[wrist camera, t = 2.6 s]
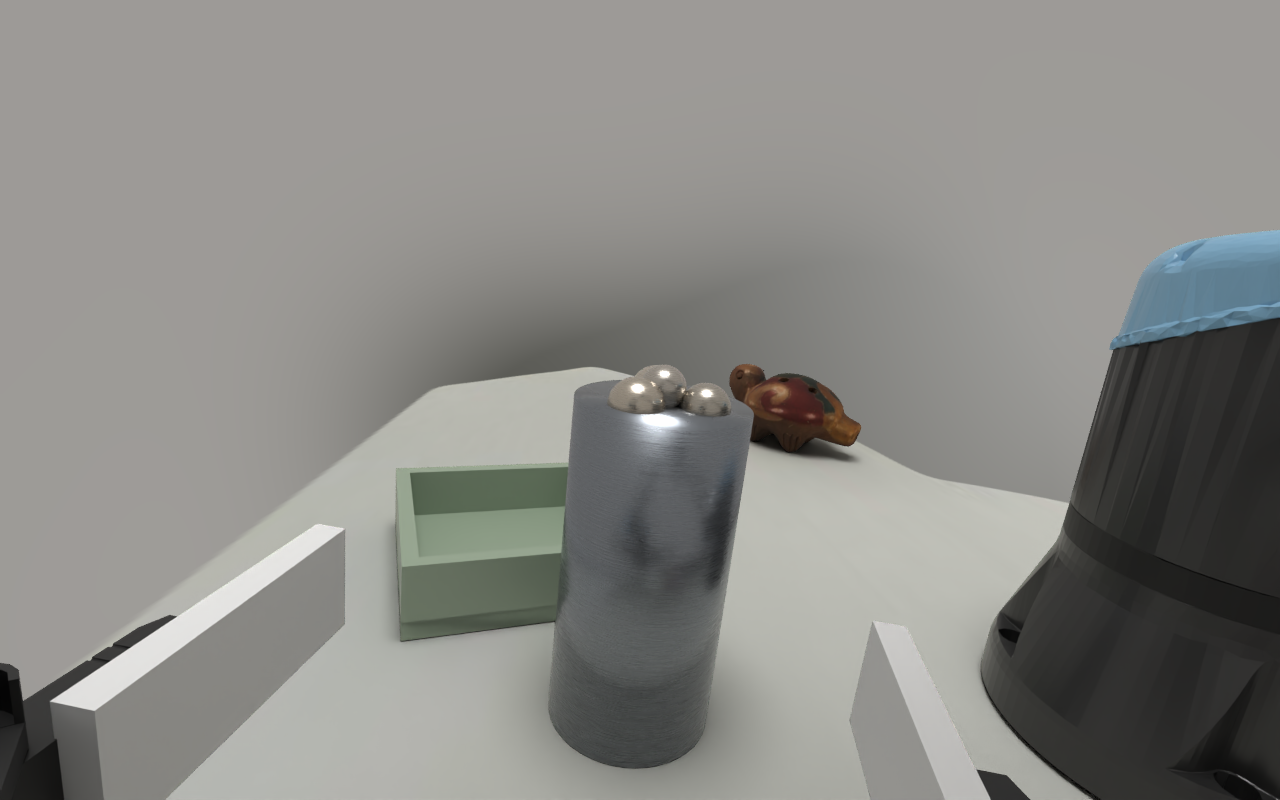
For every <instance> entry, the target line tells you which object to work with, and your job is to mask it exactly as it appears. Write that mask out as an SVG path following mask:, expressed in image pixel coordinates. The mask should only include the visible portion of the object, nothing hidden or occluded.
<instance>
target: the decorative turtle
mask: <svg viewBox="0 0 1280 800" xmlns="http://www.w3.org/2000/svg"><path fill="white" fill-rule="evenodd" d="M763 371H764V370H763ZM763 371H762V369H761V368H759V367H757V366H755V365H750V364H742V365H739V366H737V367H736V368H735V369H734V370H733V371H732V372H731V375H730V387H731V390H732V392H733V395H734V397H735V399H736V400H738V401H740V402H742V403H744V404H746V405H747V406H748V407H750V408H751V410H752V411H753V413H754V418H753V424H752V430H751V437H750V440H751V441H758V440H761V439H763V438H764V437H766V436H768V435H770V434H774V435H775V436H776V437H777V438H778V440H779V442H780V444H781V445H782V447H783V448H784V449H785V450H786V451H787V452H795V451H796V450H798V449H799V448H800V447H801V446H802V444H803V443H807V442H809V441H811V440H812V439H813V438H819V439H822V440H825V441H828V442H832V443H835V444H839V445H842V446H851V445H852V444H854V442H855V441H856V439H857V436H858V434H859V432H860V430H861V425H860V424H859V423H857V422H856V421H854V420H852V419H850V418H849V417H847V416H846V415H845V413H844V410H843V406H842V404H841V402H840V400H839V399H838V398H837V396H836V395H835V394H834V393H833V392H832V391H831V390H830V389H829V388H827V387H825V386H824V385H822V384H821V383H819V382H817V381H816V380H814V379H812V378H809V377H806V376H803V375H799V374H791V373H789V374H788V373H785V374H779V375H776V376H773V377H771V378H770V379H768V380H766V379H765V375H764V373H763Z"/></svg>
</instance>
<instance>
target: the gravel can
mask: <svg viewBox="0 0 1280 800" xmlns="http://www.w3.org/2000/svg"><path fill="white" fill-rule="evenodd" d="M753 418H754V413H753V411H752V410H751V408H750V407H748V406H747V405H746V404H744V403H742V402H740V401H738V400H736V399H734V398H731V397H729V396H728V395H727V394H726V392H725V391H724V390H722V389H721V388H720V387H718V386H717V385H714V384H710V383H700V384H696V385H694V386H687V385H686V381H685V379H684V376H683V375H682V373H681V372H680V371H679V370H677V369H676V368H674V367H672V366H669V365H653V366H648V367H646V368H644V369H642V370H640V371H639V372H638V373H637V374H636V375H635V377H629V378H626V379H624V380H613V381H602V382H596V383H591V384H587V385H584V386H582V387H580V388H578V389H577V390H576V391H575V394H574V405H573V417H572V429H571V441H570V453H569V465H568V477H567V489H566V501H565V512H564V524H563V536H562V548H561V560H560V572H559V584H558V596H557V608H556V620H555V632H554V644H553V656H552V668H551V680H550V692H549V713H550V717H551V720H552V723H553V725H554V727H555V729H556V730H557V732H558V733H559V735H560V736H561V737H562V738H563V739H564V740H565V741H566V742H567V743H568V744H569V745H570V746H571V747H572V748H574V749H575V750H577V751H578V752H580V753H581V754H583V755H585V756H587V757H589V758H591V759H593V760H596V761H598V762H601V763H604V764H608V765H612V766H617V767H624V768H648V767H653V766H659V765H662V764H665V763H669V762H671V761H673V760H675V759H678V758H679V757H681V756H683V755H684V754H686V753H687V752H688V751H689V750H690V749H692V748H693V747H694V745H695V744H696V743H697V742H698V740H699V739H700V737H701V735H702V733H703V730H704V728H705V722H706V716H707V709H708V703H709V697H710V690H711V684H712V678H713V671H714V665H715V659H716V652H717V646H718V640H719V633H720V627H721V621H722V614H723V608H724V602H725V595H726V589H727V583H728V576H729V570H730V564H731V557H732V551H733V544H734V538H735V532H736V525H737V519H738V513H739V506H740V500H741V494H742V487H743V481H744V475H745V468H746V462H747V456H748V449H749V443H750V437H751V430H752V424H753Z"/></svg>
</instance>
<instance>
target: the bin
mask: <svg viewBox="0 0 1280 800" xmlns="http://www.w3.org/2000/svg"><path fill="white" fill-rule="evenodd" d="M568 465H569V463H546V464H516V465H487V466H457V467H427V468H398V469H396V522H395V526H396V549H397V571H398V594H399V616H400V639H401V641H405V640H413V639H421V638H428V637H436V636H444V635H451V634H459V633H467V632H474V631H482V630H490V629H498V628H505V627H513V626H521V625H528V624H536V623H544V622H551V621H555V620H556V608H557V596H558V584H559V572H560V560H561V548H562V536H563V524H564V512H565V501H566V489H567V477H568Z"/></svg>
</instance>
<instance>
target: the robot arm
mask: <svg viewBox="0 0 1280 800" xmlns="http://www.w3.org/2000/svg"><path fill="white" fill-rule="evenodd" d="M1110 350H1113V354H1112V357H1111V361H1110V364H1109V367H1108V371H1107V375H1106V378H1105V381H1104V385H1103V388H1102V391H1101V395H1100V399H1099V402H1098V405H1097V409H1096V412H1095V416H1094V419H1093V423H1092V426H1091V430H1090V433H1089V436H1088V440H1087V443H1086V447H1085V450H1084V454H1083V457H1082V460H1081V464H1080V467H1079V471H1078V474H1077V478H1076V481H1075V485H1074V488H1073V491H1072V495H1071V500H1070V503H1069V507H1068V510H1067V513H1066V517H1065V520H1064V523H1063V526H1062V529H1061V532H1060V535H1059V537H1058V539H1057V541H1056V542H1055V544H1054V545H1053V546H1052V548H1051V549H1050V550H1049V551H1048V553H1047V554H1046V555H1045V556H1044V558H1043V559H1042V560H1041V561H1040V562H1039V564H1038V565H1037V566H1036V567H1035V569H1034V570H1033V571H1032V572H1031V574H1030V575H1029V576H1028V577H1027V579H1026V580H1025V581H1024V582H1023V584H1022V585H1021V586H1020V587H1019V588H1018V590H1017V591H1016V592H1015V593H1014V595H1013V596H1012V597H1011V598H1010V600H1009V601H1008V602H1007V603H1006V605H1005V606H1004V607H1003V608H1002V610H1001V611H1000V612H999V613H998V615H997V616H996V618H995V619H994V621H993V623H992V626H991V628H990V632H989V635H988V639H987V642H986V646H985V649H984V653H983V657H982V661H981V672H982V677H983V681H984V684H985V686H986V689H987V691H988V693H989V695H990V697H991V698H992V700H993V702H994V703H995V705H996V706H997V708H998V709H999V711H1000V712H1001V713H1002V715H1003V716H1004V717H1005V718H1006V720H1007V721H1008V722H1009V723H1010V724H1011V726H1012V727H1013V728H1014V729H1015V730H1016V731H1017V732H1018V733H1019V734H1020V735H1021V736H1022V737H1023V738H1024V739H1025V740H1026V741H1027V742H1028V743H1029V744H1030V745H1031V746H1032V747H1033V748H1034V749H1035V750H1036V751H1037V752H1038V753H1040V754H1041V755H1042V756H1043V757H1044V758H1045V759H1047V760H1048V761H1049V762H1050V763H1051V764H1053V765H1054V766H1055V767H1056V768H1058V769H1059V770H1060V771H1061V772H1063V773H1064V774H1065V775H1067V776H1068V777H1069V778H1071V779H1072V780H1074V781H1075V782H1076V783H1078V784H1079V785H1081V786H1082V787H1083V788H1085V789H1086V790H1088V791H1089V792H1091V793H1092V794H1094V795H1095V796H1097V797H1098V798H1100V799H1101V800H1280V230H1275V231H1264V232H1255V233H1244V234H1235V235H1226V236H1220V237H1214V238H1208V239H1201V240H1196V241H1192V242H1188V243H1185V244H1181V245H1179V246H1176V247H1174V248H1172V249H1170V250H1167V251H1166V252H1164V253H1162V254H1161V255H1160V256H1158V257H1157V258H1155V260H1153V261H1152V262H1151V263H1150V264H1149V265H1148V266H1147V267H1146V269H1145V270H1144V272H1143V273H1142V275H1141V277H1140V279H1139V281H1138V284H1137V287H1136V289H1135V292H1134V295H1133V298H1132V300H1131V303H1130V306H1129V309H1128V311H1127V314H1126V316H1125V319H1124V322H1123V325H1122V328H1121V330H1120V333H1119V336H1117V337H1116V338H1114V339H1113V340H1112V342H1111V345H1110ZM344 624H345V529H344V528H338V527H333V526H327V525H321V524H316V525H314V526H313V527H311V528H310V529H308V530H307V531H305V532H304V533H302V534H301V535H299V536H298V537H296V538H295V539H293V540H292V541H290V542H289V543H287V544H286V545H284V546H283V547H281V548H280V549H278V550H277V551H275V552H274V553H272V554H271V555H269V556H268V557H266V558H265V559H263V560H262V561H260V562H259V563H257V564H256V565H254V566H253V567H251V568H250V569H248V570H247V571H245V572H244V573H242V574H241V575H239V576H238V577H236V578H235V579H233V580H232V581H230V582H229V583H227V584H226V585H224V586H223V587H221V588H220V589H218V590H217V591H215V592H214V593H212V594H211V595H209V596H208V597H206V598H205V599H203V600H202V601H200V602H199V603H197V604H196V605H194V606H193V607H191V608H190V609H188V610H187V611H185V612H184V613H182V614H181V615H179V616H178V617H177V616H172V615H169V616H166V617H164V618H161V619H159V620H156V621H154V622H151V623H149V624H146V625H144V626H141V627H139V628H137V629H135V630H134V631H132V632H131V633H129V634H128V635H126V636H124V637H123V638H121V639H120V640H118V641H117V642H115V643H114V644H113V646H112V647H107V648H106V649H104V650H103V651H101V652H99V653H98V654H96V655H95V656H93V657H92V659H91V661H85V662H84V663H82V664H81V665H79V666H78V667H76V668H74V669H73V670H71V671H70V672H68V673H67V674H65V675H63V676H62V677H60V678H59V679H57V680H56V681H54V682H52V683H51V684H49V685H48V686H46V687H45V688H43V689H42V690H40V691H38V692H37V693H35V694H34V695H32V696H31V697H29V698H27V699H26V700H24V701H23V699H22V692H21V684H20V677H19V670H18V669H16V668H15V667H13V666H12V665H10V664H3V663H0V800H165V799H166V798H167V797H168V796H169V795H170V794H171V793H172V792H173V791H174V790H175V789H176V788H177V787H178V786H180V785H181V784H182V783H183V782H184V781H185V780H186V779H187V778H188V777H189V776H190V775H191V774H192V773H193V772H194V771H195V770H196V769H197V768H198V767H199V766H200V765H201V764H202V763H203V762H204V761H205V760H206V759H207V758H208V757H209V756H210V755H211V754H212V753H213V752H214V751H215V750H216V749H217V748H218V747H219V746H220V745H221V744H222V743H224V742H225V741H226V740H227V739H228V738H229V737H230V736H231V735H232V734H233V733H234V732H235V731H236V730H237V729H238V728H239V727H240V726H241V725H242V724H243V723H244V722H245V721H246V720H247V719H248V718H249V717H250V716H251V715H252V714H253V713H254V712H255V711H256V710H257V709H258V708H259V707H260V706H261V705H262V704H263V703H264V702H265V701H266V700H268V699H269V698H270V697H271V696H272V695H273V694H274V693H275V692H276V691H277V690H278V689H279V688H280V687H281V686H282V685H283V684H284V683H285V682H286V681H287V680H288V679H289V678H290V677H291V676H292V675H293V674H294V673H295V672H296V671H297V670H298V669H299V668H300V667H301V666H302V665H303V664H304V663H305V662H306V661H307V660H308V659H309V658H310V657H312V656H313V655H314V654H315V653H316V652H317V651H318V650H319V649H320V648H321V647H322V646H323V645H324V644H325V643H326V642H327V641H328V640H329V639H330V638H331V637H332V636H333V635H334V634H335V633H336V632H337V631H338V630H339V629H340V628H341V627H342V626H343V625H344ZM850 723H851V727H852V731H853V735H854V738H855V742H856V746H857V750H858V753H859V757H860V761H861V764H862V768H863V772H864V776H865V779H866V783H867V787H868V791H869V794H870V798H871V800H1030V799H1029V798H1028V797H1027V796H1026V795H1025V794H1024V793H1023V792H1022V791H1021V790H1020V789H1019V788H1018V787H1017V786H1016V785H1015V784H1014V782H1013V781H1012V780H1011V779H1010V778H1009V777H1008V776H1007V775H1002V774H997V773H992V772H986V771H981V770H976V768H975V766H974V764H973V762H972V760H971V758H970V756H969V754H968V752H967V750H966V748H965V746H964V744H963V742H962V740H961V738H960V735H959V733H958V731H957V729H956V727H955V725H954V723H953V721H952V719H951V717H950V715H949V713H948V711H947V709H946V707H945V705H944V703H943V701H942V699H941V697H940V694H939V692H938V690H937V688H936V686H935V684H934V682H933V680H932V678H931V676H930V674H929V672H928V670H927V668H926V666H925V664H924V662H923V660H922V658H921V656H920V653H919V651H918V649H917V647H916V645H915V643H914V641H913V639H912V637H911V635H910V633H909V631H908V629H907V627H906V626H901V625H895V624H890V623H884V622H878V621H872V626H871V630H870V634H869V639H868V643H867V647H866V651H865V656H864V660H863V664H862V669H861V673H860V677H859V682H858V686H857V690H856V694H855V699H854V703H853V707H852V712H851V716H850Z"/></svg>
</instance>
